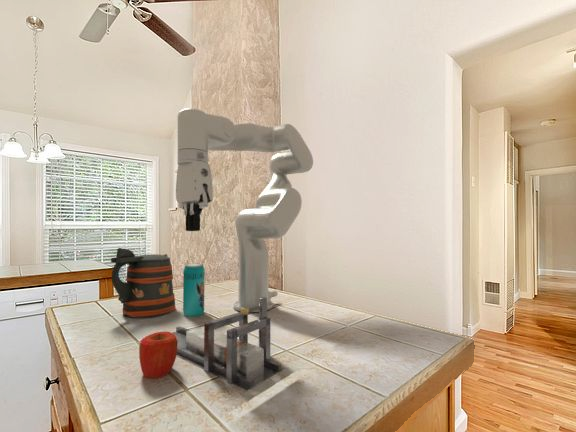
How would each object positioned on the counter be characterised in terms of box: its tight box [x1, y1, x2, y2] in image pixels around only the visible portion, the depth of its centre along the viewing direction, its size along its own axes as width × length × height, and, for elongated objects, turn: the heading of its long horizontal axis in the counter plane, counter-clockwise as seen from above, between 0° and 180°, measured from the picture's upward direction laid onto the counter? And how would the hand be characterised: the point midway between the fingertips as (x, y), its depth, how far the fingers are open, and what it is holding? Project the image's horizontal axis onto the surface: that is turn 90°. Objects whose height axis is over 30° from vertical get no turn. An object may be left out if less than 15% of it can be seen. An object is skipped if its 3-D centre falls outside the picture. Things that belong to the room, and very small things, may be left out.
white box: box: [186, 326, 264, 379], centre depth 57 cm, size 18×4×4 cm, turn 50°
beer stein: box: [110, 247, 176, 318], centre depth 91 cm, size 19×15×20 cm
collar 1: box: [203, 311, 249, 373], centre depth 57 cm, size 9×1×9 cm, turn 142°
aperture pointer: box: [240, 297, 268, 348], centre depth 58 cm, size 6×2×12 cm, turn 142°
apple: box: [138, 331, 177, 380], centre depth 53 cm, size 6×6×8 cm
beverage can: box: [182, 262, 205, 318], centre depth 87 cm, size 6×6×15 cm
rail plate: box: [171, 325, 285, 391], centre depth 60 cm, size 9×32×2 cm, turn 52°
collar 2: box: [225, 316, 271, 385], centre depth 53 cm, size 9×1×9 cm, turn 142°
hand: (192, 230), depth 78 cm, fingers closed
